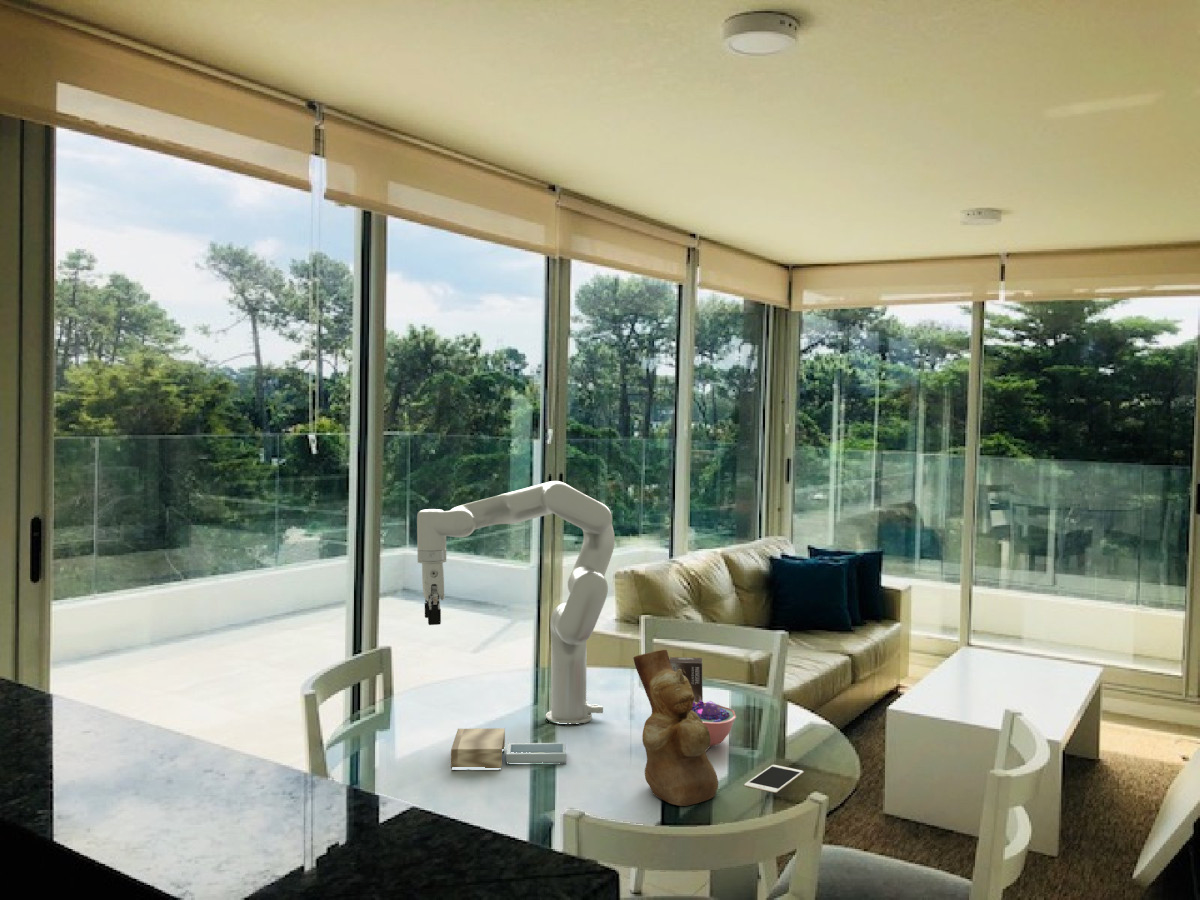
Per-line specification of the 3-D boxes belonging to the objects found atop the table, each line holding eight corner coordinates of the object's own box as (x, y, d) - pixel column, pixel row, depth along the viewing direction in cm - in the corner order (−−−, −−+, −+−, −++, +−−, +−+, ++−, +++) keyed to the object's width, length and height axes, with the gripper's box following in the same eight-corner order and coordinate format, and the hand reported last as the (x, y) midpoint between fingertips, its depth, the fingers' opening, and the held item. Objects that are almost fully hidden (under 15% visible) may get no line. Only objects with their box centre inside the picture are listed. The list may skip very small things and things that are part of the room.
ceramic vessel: (676, 813, 201) (677, 668, 201) (613, 782, 219) (613, 648, 218) (732, 797, 211) (734, 658, 210) (667, 768, 228) (668, 640, 228)
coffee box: (702, 715, 271) (703, 657, 271) (702, 722, 264) (703, 662, 264) (669, 714, 272) (669, 656, 271) (668, 721, 265) (669, 661, 265)
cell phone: (743, 787, 218) (743, 784, 218) (772, 766, 231) (772, 764, 231) (775, 794, 213) (775, 792, 213) (804, 773, 227) (804, 770, 227)
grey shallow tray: (565, 753, 239) (565, 742, 239) (566, 764, 231) (566, 753, 231) (508, 753, 238) (508, 743, 238) (506, 764, 230) (506, 754, 230)
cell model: (683, 728, 259) (683, 685, 259) (749, 744, 246) (749, 699, 246) (645, 744, 246) (645, 699, 246) (712, 761, 233) (712, 714, 233)
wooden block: (504, 748, 242) (504, 728, 242) (501, 770, 226) (501, 748, 226) (457, 748, 241) (458, 728, 241) (451, 770, 226) (451, 749, 226)
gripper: (450, 559, 251) (450, 626, 252) (442, 551, 268) (443, 614, 268) (420, 561, 249) (421, 628, 250) (414, 552, 266) (415, 615, 266)
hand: (432, 620), depth 259 cm, fingers open, 9 cm apart
